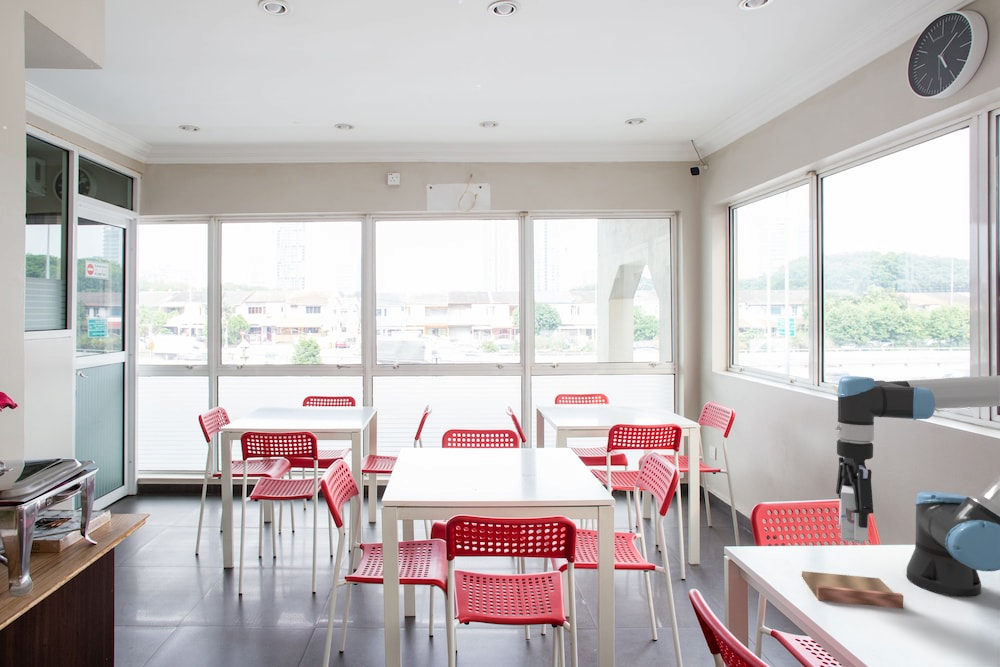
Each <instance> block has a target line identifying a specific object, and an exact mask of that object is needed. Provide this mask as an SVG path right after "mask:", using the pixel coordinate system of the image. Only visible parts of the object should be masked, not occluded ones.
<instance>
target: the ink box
mask: <svg viewBox="0 0 1000 667" xmlns="http://www.w3.org/2000/svg"><path fill="white" fill-rule="evenodd" d="M864 508H865V507H864ZM853 510H856V504H855V494H854V491H853V486H842V490H841V526H840V540H841V541H842V542H843V541H844V542H849V543H856V544H862V545H864V544H865V541H859V540H854V516H855V513H854V512H853Z"/></svg>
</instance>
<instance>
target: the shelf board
mask: <svg viewBox="0 0 1000 667" xmlns="http://www.w3.org/2000/svg"><path fill="white" fill-rule="evenodd" d="M802 577H803V578H802ZM801 578H802V579H803V581H804V582H805V583H806V585H807V586H808V588H809V589H810V591H811V592H812V593H813V594H814V597H815V598H816V600H818V601H822V602H823V601H825V602H834V603H845V604H853V605H854V604H855V605H862V606H873V607H882V608H883V607H884V608H893V609H902V610H903V609H904V595H903V594H902V593H899V592H894V591H893V590H892V589H890V587H889V586H888V585H887V584H886V583H884V581H882V580H881V578H879V577H869V576H859V575H849V574H848V575H847V574H839V573H838V574H836V573H824V572H818V571H817V572H816V571H815V572H814V571H807V570H806V571H804V570H802V571H801Z"/></svg>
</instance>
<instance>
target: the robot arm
mask: <svg viewBox="0 0 1000 667" xmlns="http://www.w3.org/2000/svg"><path fill="white" fill-rule="evenodd" d="M836 396H837V425H835V430H836V431H837V434H836V435H837V438H838V440H836V455H837V456H839V457H838V471H837V478H836V479H837V480H836V487H835V488H836V490H835V493H836V494H837V495H838V498H839V502H838V503H839V504H838V506H839V507H838V508H839V509H838V512H839V513H838V526H839V527H841V490H842V486H853V491H854V494H855V504H856V510H853V512H854V513H855V516H854V540H859V541H864V542H868V541H869V517H870V516H869V514H872V515H873V514H874V504H873V488H872V474H873V473H872V470H871V469H867V466H866V460H871V459H873V457H874V444H873V443H872V442H873V441H875V438H874V437H875V418H891V419H905V420H906V419H909V420H914V421H915V420H927V419H931V417H933V415H934V413H935V410H936V409H941V410H942V409H963V408H985V407H986V408H987V407H990V408H991V407H1000V375H999V374H998V375H985V376H983V375H982V376H970V377H969V376H967V377H947V378H946V377H945V378H944V377H943V378H927V379H912V380H909V379H908V380H894V381H893V380H892V381H885V380H883V379H882V380H875V379H874V378H873V377H871V376H870V377H869V376H858V375H857V376H856V375H854V376H853V375H852V376H851V375H849V376H847V375H846V376H842V377H841V378H839V381H838V388H837V395H836ZM914 505H915V544H914V545H915V546H914V551H913V552H912V554H911V557H910V559H909V562H908V564H907V566H906V574H905V576H906V578H907V580H908V581H909V582H911V583H912V584H915V586H918V587H920V588H922V589H925V590H927V591H930V592H934V593H937V594H941V595H945V596H946V595H947V596H952V597H958V598H973V597H974V598H975V597H977V596H980V595H981V593H982V582H981V579H980V576H979V573H978V571H980V572H996V571H997V572H998V571H1000V473H999V474H998V475H997V477H995V479H994V480H993V481H991V482H990V484H989V485H988V486H987V487H986V488H985V489H984V491H982V493H981V494H978V495H976V494H975V495H964V494H957V493H950V492H943V491H920V492H918V493H917V496H916V501H915V503H914ZM864 507H865V508H864Z"/></svg>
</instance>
